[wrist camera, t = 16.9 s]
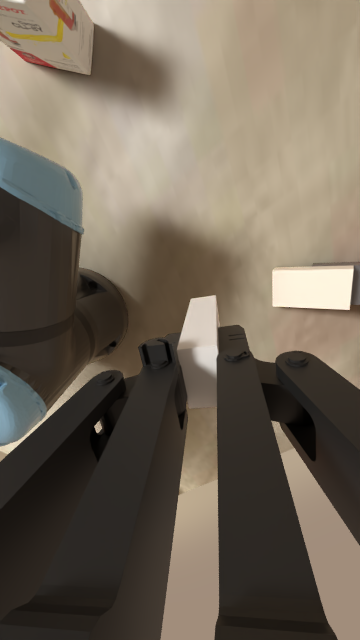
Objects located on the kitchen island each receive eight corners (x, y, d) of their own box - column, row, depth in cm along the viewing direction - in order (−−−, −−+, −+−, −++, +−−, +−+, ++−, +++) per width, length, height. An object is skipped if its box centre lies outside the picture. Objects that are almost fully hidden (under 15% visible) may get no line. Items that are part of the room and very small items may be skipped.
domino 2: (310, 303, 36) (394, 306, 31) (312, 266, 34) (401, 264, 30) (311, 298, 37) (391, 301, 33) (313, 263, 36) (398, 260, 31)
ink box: (23, 62, 31) (-80, -20, 20) (22, 6, 29) (-91, -118, 19) (91, 78, 31) (25, 3, 20) (95, 23, 29) (25, -93, 18)
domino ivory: (272, 306, 36) (349, 309, 32) (272, 270, 35) (353, 268, 30) (275, 301, 38) (349, 304, 33) (275, 267, 36) (353, 265, 32)
